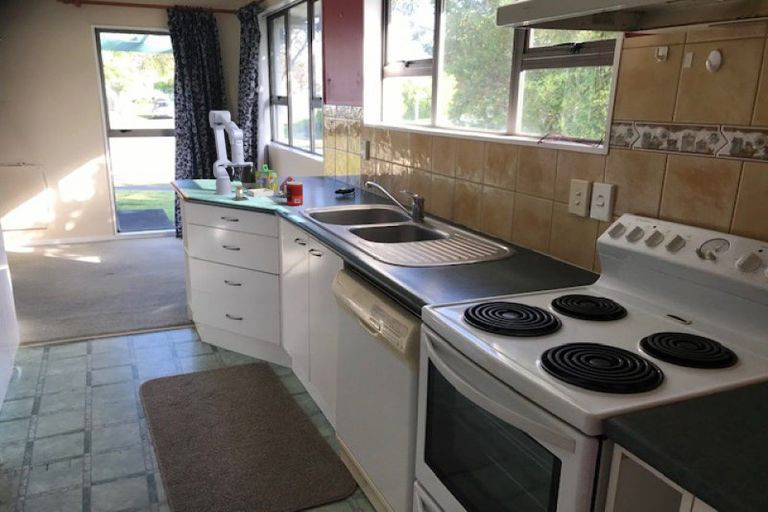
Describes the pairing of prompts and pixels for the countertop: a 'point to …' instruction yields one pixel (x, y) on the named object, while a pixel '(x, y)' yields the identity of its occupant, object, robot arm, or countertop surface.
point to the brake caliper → (283, 189)
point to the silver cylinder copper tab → (239, 193)
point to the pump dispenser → (249, 178)
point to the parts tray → (260, 192)
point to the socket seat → (239, 199)
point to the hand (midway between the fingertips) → (239, 181)
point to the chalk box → (266, 179)
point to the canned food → (294, 193)
